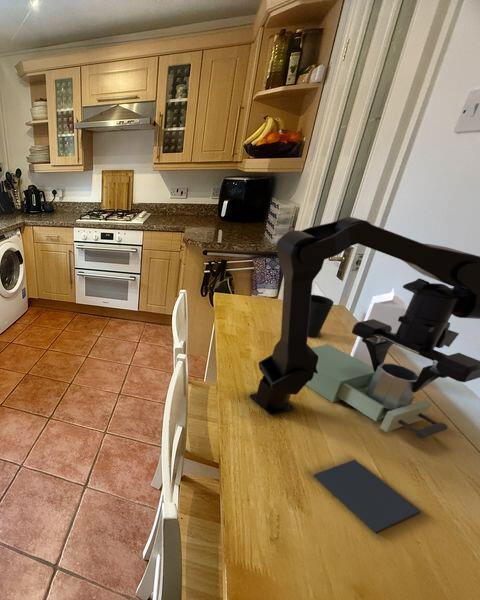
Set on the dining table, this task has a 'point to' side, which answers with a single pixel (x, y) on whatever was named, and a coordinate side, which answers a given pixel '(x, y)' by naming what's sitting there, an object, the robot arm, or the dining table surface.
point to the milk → (380, 320)
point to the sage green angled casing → (336, 371)
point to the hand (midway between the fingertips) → (394, 381)
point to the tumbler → (392, 385)
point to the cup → (318, 314)
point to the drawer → (392, 418)
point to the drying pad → (366, 495)
